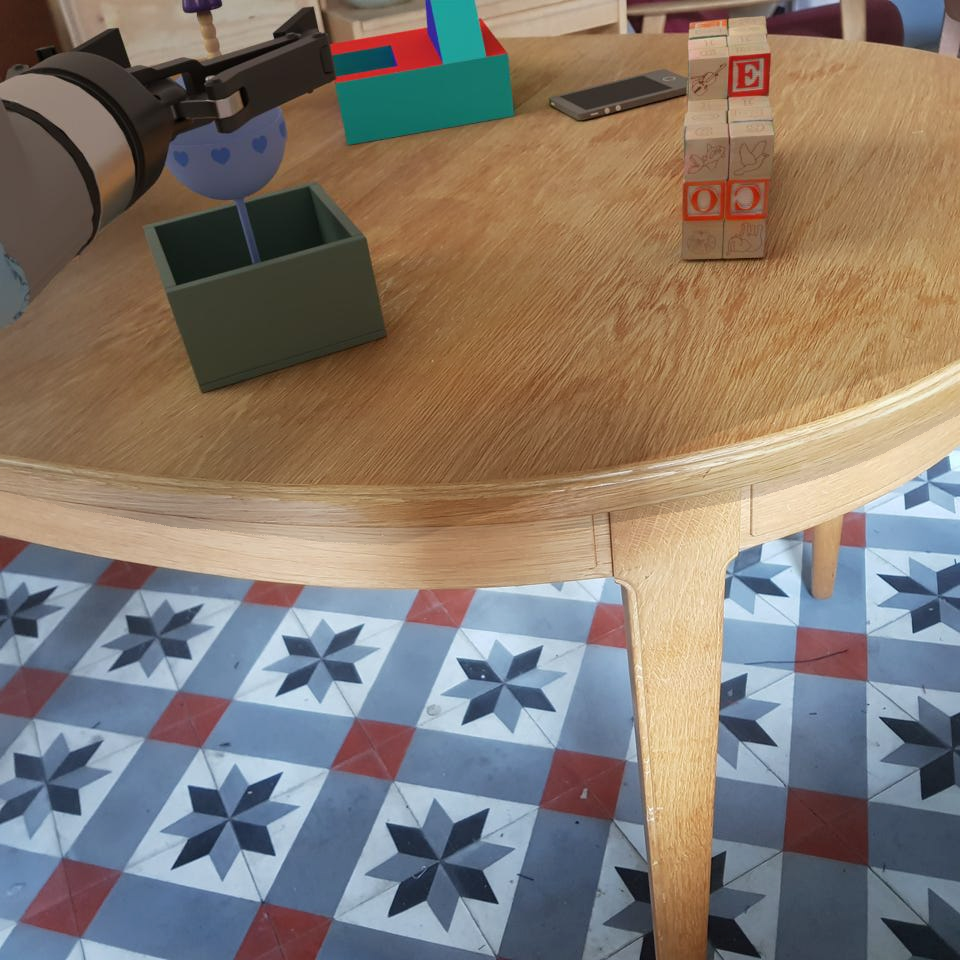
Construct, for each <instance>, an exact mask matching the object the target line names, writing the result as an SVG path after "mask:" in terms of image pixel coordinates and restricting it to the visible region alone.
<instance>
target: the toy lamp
mask: <svg viewBox="0 0 960 960" xmlns="http://www.w3.org/2000/svg"><path fill="white" fill-rule="evenodd" d="M181 5H182V10H183V13H185V14H196V18H197V21H198V23H199V25H200V29H199V30H200V34H201V36H202V38H203V46H204V48H205V51H206V53H207V60H208V59H211V58H215V57H218V56H221V55H223V54H222V51H221V49H220V48H221V47H220V46H221V45H220V41H219V39H218V37H217V30H216V29H217V28H216V26H215V24H214V23H213V20H214V17H213V14H212V13H213V12H212V11H213V10H216V9H220V8H221V7H222V6H223V0H181Z"/></svg>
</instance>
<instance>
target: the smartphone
mask: <svg viewBox="0 0 960 960" xmlns="http://www.w3.org/2000/svg"><path fill="white" fill-rule="evenodd" d="M687 81H688V77H686V76H683V75H680V74H678V73H675V72H673V71H671V70H668V69H665V68H664V69H663V68H662V69H657V70H653V71H649V72H645V73H641V74H636V75H632V76H629V77H625V78H620V79H616V80H613V81H608V82H605V83H601V84H597V85H593V86H589V87H585V88H581V89H577V90H576V89H575V90H573V91H569V92H565V93H560V94H557V95H553V96H550V97H549V98H548V103H549V104H548V105H549V106H551V107H553V108H555V109H557V110H558V111H561V112H562V113H563V114H565V115H567V116H569V117H572V118H573V119H575V120H577V121H584V120H589V119H593V118H597V117H600V116H605V115H608V114H612V113H616V112H619V111H624V110H627V109H628V110H629V109H632V108H636V107H639V106H645V105H648V104H652V103H655V102H658V101H663V100H666V99H670V98H674V97H678V96H683V95H687Z"/></svg>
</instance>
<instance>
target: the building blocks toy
mask: <svg viewBox="0 0 960 960" xmlns="http://www.w3.org/2000/svg"><path fill="white" fill-rule="evenodd" d="M424 1H425V3H424V4H425V16H426V27H422V28H415V29H409V30H403V31H398V32H393V33H387V34H386V33H385V34H381V35H375V36H369V37H368V36H367V37H363V38H357V39H352V40H345V41H340V42H334V43H330V47H331V52H332V57H333V61H334V66H335V71H336V76H337V79H336V80H334V86H335V91H336V96H337V101H338V106H339V110H340V115H341V119H342V124H343V131H344V134H345V140H346V144H347V146H351V145H356V144H362V143H368V142H373V141H379V140H386V139H391V138H397V137H402V136H403V137H404V136H408V135H414V134H418V133H425V132H431V131H436V130H442V129H447V128H453V127H460V126H466V125H470V124H477V123H482V122H483V123H484V122H487V121H494V120H499V119H506V118H510V117H515V111H514V102H513V101H514V100H513V91H512V81H511V73H510V72H511V71H510V61H509V53H508V51H507V50H506V49H505V48H504V47H503V45H502V44H501V42H500V41H499V40H498V38H497V37H496V36H495V35H494V33H493V32H492V31H491V29H490V28H489V27H488V25H487V24H486V23H485V22H484V20H483V18H480V17H479V14H478V9H477V4H476V0H424Z"/></svg>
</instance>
